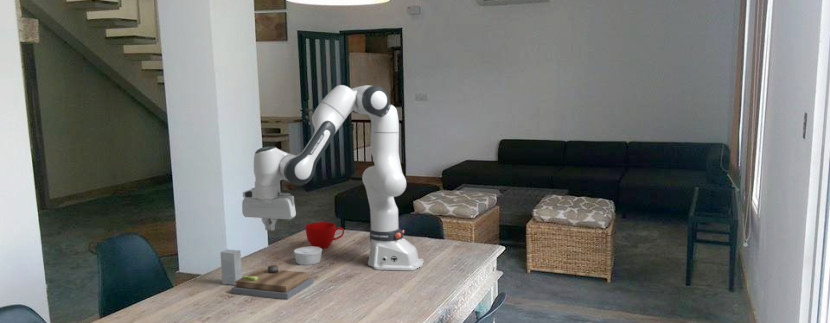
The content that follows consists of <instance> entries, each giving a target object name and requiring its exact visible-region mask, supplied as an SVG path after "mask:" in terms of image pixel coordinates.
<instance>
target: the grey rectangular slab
mask: <svg viewBox="0 0 830 323" xmlns="http://www.w3.org/2000/svg"><path fill="white" fill-rule="evenodd" d="M312 284H314V278H313V277H309V278H308V279H307V280H305V281H303V282H302V283H300V284H299V285H297V286H295V287H294V288H292V289H290V290H289V291H287V292H281V291H271V290H262V289H253V288H243V287H236V285H233V286H232V287H231V294H233V295H234V294H236V295H243V296H253V297H260V298H271V299H279V300H289V299H291V298H292V297H294V296H295V295H298V294H299V293H301V292H302V291H303V290H305V289H306V288H309V287H310V286H311V285H312Z"/></svg>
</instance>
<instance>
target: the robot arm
mask: <svg viewBox="0 0 830 323" xmlns="http://www.w3.org/2000/svg"><path fill="white" fill-rule="evenodd" d="M351 112H352V113H355V114H361V115H368V117H369V118H370V123H371V126H370V154H371V156H372V159H373V163H374V165H371V166H369V167H367V168H366V169H365V170H364V171H363V173H362V176H361V177H362V179H361V180H362V183H363V185H364V187H365V191H366V196H367V200H368V205H369V210H370V211H369V214H370V229H369V242H370V247H369V248H370V250H369V256H368V261H367V264H368V266H369V267H372V268H373V269H374V270H378V271H380V270H382V271H390V270H391V271H415V270H417V268H418V269H420V268H421V267H422V266H424V264H423V263H425V261H424V259H423V258H419V255H418V254H419V253H418V250H417V248H416V246H414V245H413V244H412V243H411V242H409V241H408V240H407V239H405V238H404V234H405V230H404V229H403V230H402V229H401V228H400V227H399V208H398V206H397V204H396V201H395V198H396V197H399V196H401V195H402V194H403V193H404V192H405V191H406V188H407V180H406V177H405V175H404V173H403V169H402V165H401V159H400V158H401V157H400V148H399V147H400V146H399V142H400V121H399V114H398V109H397V108H396V107H395V106H394V105H393V104H391V102H390V97H389V94H388V93H387V91H386V90H385V89H384V88H383V87H381V86H378V85H362V86H361V85H359V86H353V87H352V88H350V87H349V86H347V85H344V84H343V85H342V84H340V85H337V86H335V87H334V88H333V89H332V90H331V91H330V92H328V93H327V94H326V95H325V96H324V98H323V99H322V100H321V101H320V103H319V104H318V105H317V107H316V108H315V109H314V111H313V113H312V116H311V123H312V126H313V128H314V132H313V135H312V136H311V138H310V140H309V141H308V143H307V144H306V146H305V147H304V149H303V150H302V151H301V152H300V153H299V154H293V153H289V152H286V151H283V150H281V149H279V148H277V147H276V146H273V145H270V146H264V147H261V148H258V149H257V150H256V151H255V152H254V155H253V174H254V177H255V181H254V187H253V188H251V189H248V190H245V191H243V192H242V197H243V199H242V201H241V202H242V203H241V204H242V205H241V207H242V208H241V209H242V212H241V213H242V215H243V216H244V217H245V218H255V219H257V218H258V219H261V222H262V224H263V225H264V230H265V231H275V230H276V228H275V227H276V223H277V222H278V220H293V219H295V217H296V215H297V212H296V207H295V206H296V204H295V197H294V196H293V194H291V193H289V192H286V193H285V192H282V191H281V181H283V180H285V181H288V182H289V183H291V184H292V185H294V186H304V185H306V184H308V183H309V182H310V181H311V180H312V179H313V177H314V174H315V170H316V168H317V167H316V166H317V164H318V162H319V161H320V159H321V157H322V156H323V154H324V153H325V151H326V149H327V148H328V146H329V145H330V143H331V141H332V140H333V138H334V136H335V135H336V133H337V131H338V130H339V129H340V127H341V126H342V125H343V123H344V122H345V121H346V119H348V116H349V115H350V114H351ZM269 219H270V222H271V224H269V223H270V222H269ZM419 267H420V268H419Z"/></svg>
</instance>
